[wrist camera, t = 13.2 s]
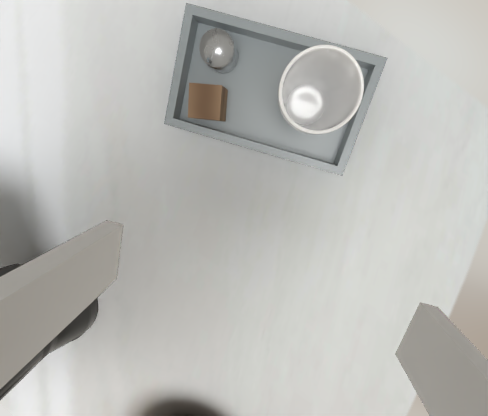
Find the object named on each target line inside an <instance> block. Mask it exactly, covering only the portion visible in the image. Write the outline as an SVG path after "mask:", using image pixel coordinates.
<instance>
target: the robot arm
mask: <svg viewBox="0 0 488 416" xmlns="http://www.w3.org/2000/svg"><path fill="white" fill-rule="evenodd" d="M122 232H123V224H120V223H116V222H112V221H108V220H106V221H104V222H102V223H100V224H98V225H97V226H95V227H93V228H91V229H89V230H87V231H85V232H83V233H82V234H80V235H78V236H76V237H74V238H72V239H70V240H68V241H67V242H65V243H63V244H61V245H59V246H57V247H55V248H53V249H52V250H50V251H48V252H46V253H44V254H42V255H40V256H38V257H37V258H35V259H33V260H31V261H29V262H27V263H25V264H23V265H20V264H14V265H10V266H6V267H3V268H0V400H1V399H2V398H3V397H4V396H5V395H6V394H7V393H8V392H9V391H10V390H11V389H12V388H13V387H14V386H16V385H17V384H18V383H19V382H20V381H21V380H22V379H23V378H24V377H25V376H26V375H27V374H28V373H29V372H30V371H31V370H32V369H33V368H34V367H35V366H36V365H37V364H38V363H39V362H40V361H41V360H42V359H43V358H44V357H45V356H46V355H47V354H49V353H51V352H52V351H54V350H56V349H58V348H60V347H61V346H63V345H65V344H67V343H68V342H71V341H73V340H75V339H77V338H78V337H80V336H81V335H82V334H83V333H84V332H85V331H86V330H87V329H88V328H89V327H90V326H91V325H92V324H93V322H94V321H95V319H96V316H97V311H98V304H97V297H98V296H99V295H100V294H101V293H102V292H103V291H105V290H106V289H107V288H108V287H109V286H110V285H111V284H112V283H113V282H114V281H115V280H116V279H117V272H118V264H119V256H120V248H121V240H122ZM396 356H397V358H398V360H399V362H400V363H401V365H402V367H403V369H404V371H405V372H406V374H407V376H408V378H409V380H410V381H411V383H412V385H413V387H414V389H415V390H416V392H417V394H418V396H419V397H420V399H421V401H422V403H423V405H424V407H425V408H426V410H427V412H428V414H429V416H488V359H487V358H486V357H485V356H484V355H483V354H482V353H481V352H480V351H479V350H478V349H477V348H476V347H475V346H474V345H473V344H472V343H471V341H470V340H469V339H468V338H467V337H466V336H465V335H464V334H463V333H462V332H461V331H460V330H459V329H458V328H457V327H456V326H455V325H454V323H453V322H452V321H451V320H450V319H449V318H448V317H447V316H446V315H445V314H444V313H443V312H442V311H441V310H440V309H439V308H438V307H436V306H432V305H428V304H424V303H420V304H419V306H418V308H417V310H416V312H415V314H414V316H413V318H412V320H411V322H410V324H409V327H408V329H407V331H406V333H405V335H404V337H403V339H402V341H401V343H400V345H399V347H398V349H397V351H396Z"/></svg>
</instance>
